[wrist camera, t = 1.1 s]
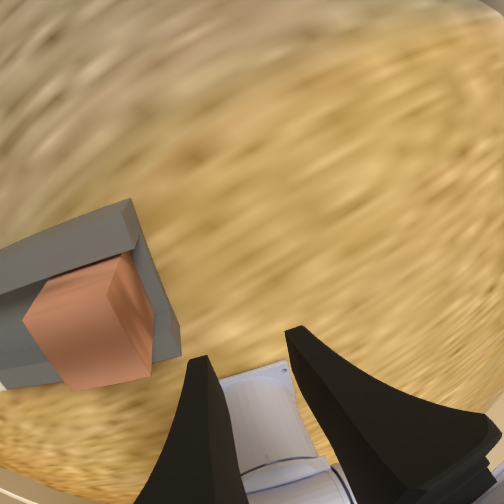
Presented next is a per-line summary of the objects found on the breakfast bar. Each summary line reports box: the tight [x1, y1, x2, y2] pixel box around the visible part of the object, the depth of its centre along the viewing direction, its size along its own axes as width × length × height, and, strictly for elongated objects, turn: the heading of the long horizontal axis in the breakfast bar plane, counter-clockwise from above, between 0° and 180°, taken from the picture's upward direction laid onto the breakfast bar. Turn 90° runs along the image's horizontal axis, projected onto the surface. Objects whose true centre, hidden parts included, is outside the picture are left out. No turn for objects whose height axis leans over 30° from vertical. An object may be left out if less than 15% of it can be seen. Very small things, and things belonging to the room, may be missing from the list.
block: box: [22, 251, 155, 391], centre depth 15 cm, size 5×5×6 cm
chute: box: [0, 198, 182, 391], centre depth 16 cm, size 10×18×3 cm, turn 102°
